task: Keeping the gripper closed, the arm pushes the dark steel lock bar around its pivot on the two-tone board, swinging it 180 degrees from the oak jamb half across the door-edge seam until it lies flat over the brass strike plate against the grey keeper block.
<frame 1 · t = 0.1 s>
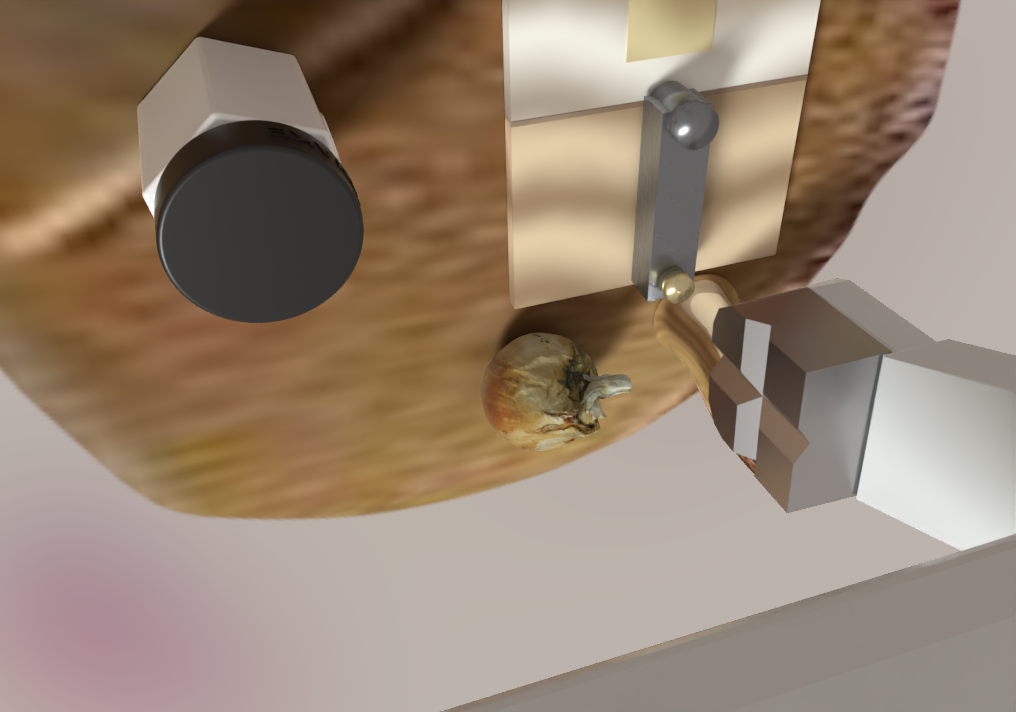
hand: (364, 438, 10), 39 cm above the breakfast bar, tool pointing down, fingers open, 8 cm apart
onion: (524, 358, 62), on the breakfast bar
lock bar: (674, 199, 54), point 3 cm above the breakfast bar, hinge at 0.0°
door board: (657, 93, 54), on the breakfast bar
beer glass: (692, 309, 65), on the breakfast bar
jar: (233, 120, 47), on the breakfast bar
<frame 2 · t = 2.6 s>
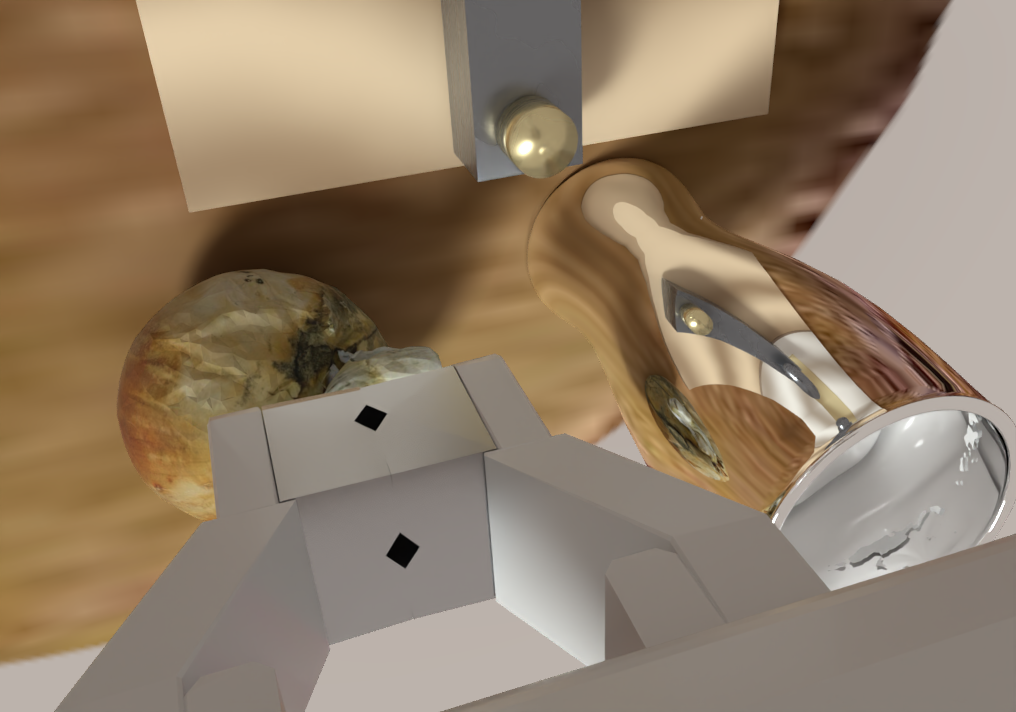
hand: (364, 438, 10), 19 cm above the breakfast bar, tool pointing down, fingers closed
onion: (256, 337, 30), on the breakfast bar
beer glass: (607, 240, 32), on the breakfast bar
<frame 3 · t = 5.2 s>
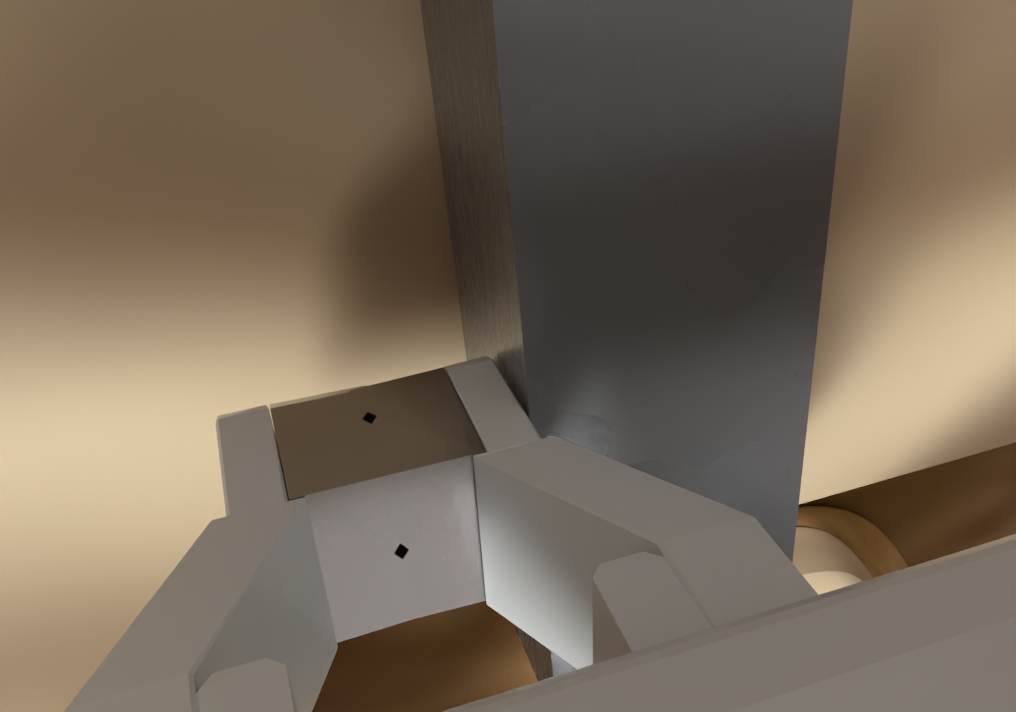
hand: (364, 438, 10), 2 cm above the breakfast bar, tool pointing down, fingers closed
lock bar: (647, 179, 9), point 3 cm above the breakfast bar, hinge at 1.7°, touching gripper
beer glass: (744, 623, 18), on the breakfast bar
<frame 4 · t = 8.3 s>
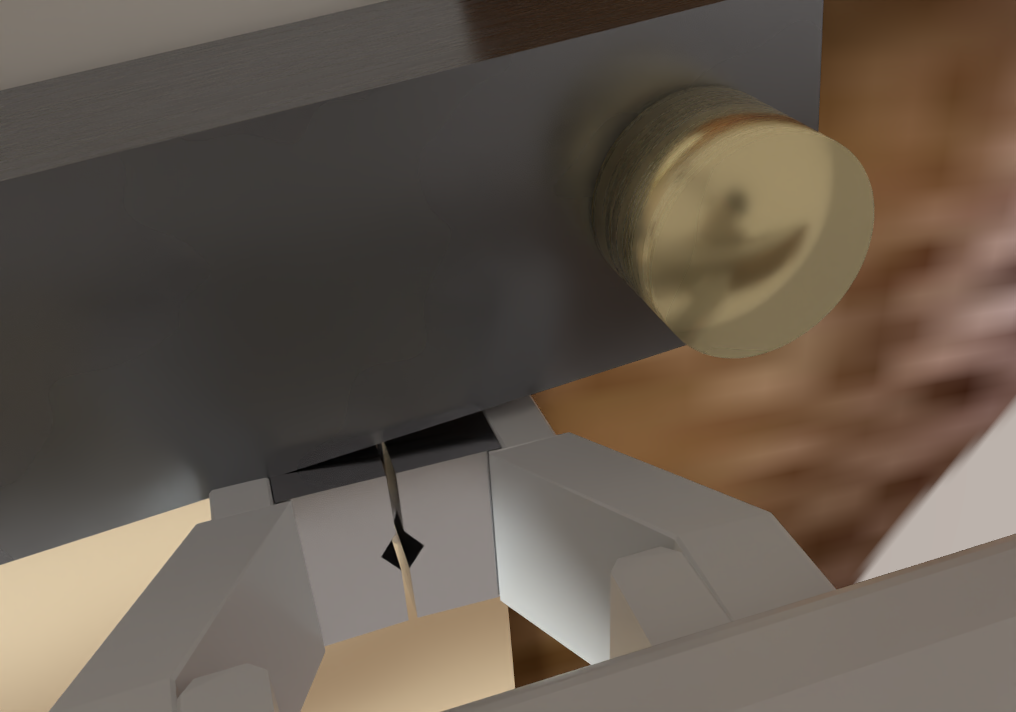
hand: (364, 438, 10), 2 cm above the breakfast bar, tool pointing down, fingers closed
lock bar: (72, 331, 8), point 3 cm above the breakfast bar, hinge at 95.2°, touching gripper
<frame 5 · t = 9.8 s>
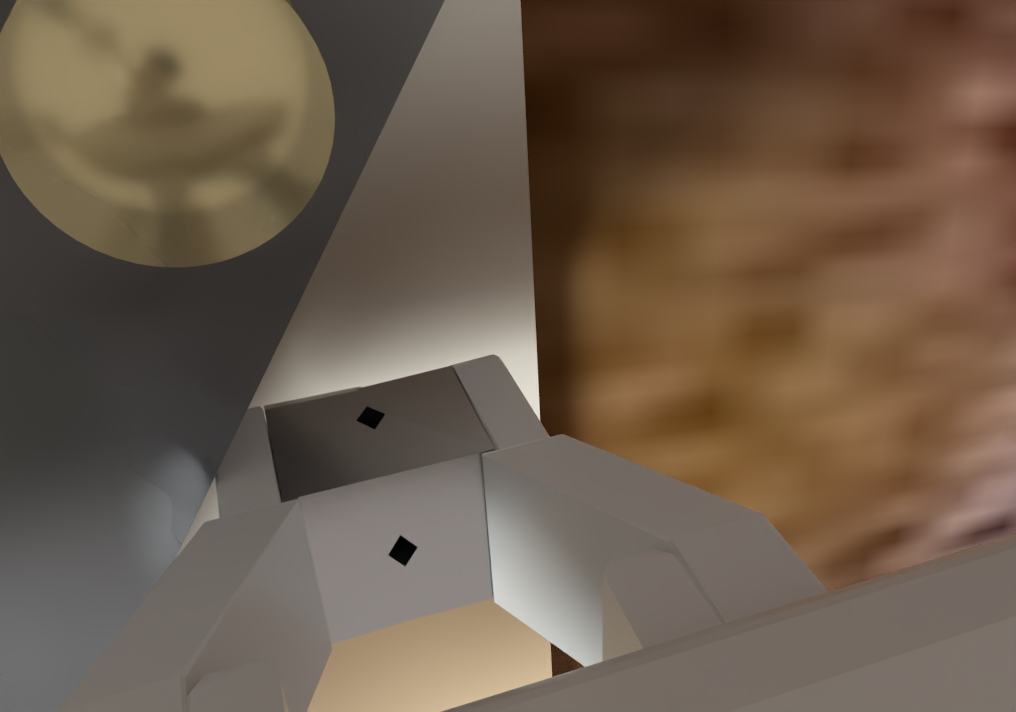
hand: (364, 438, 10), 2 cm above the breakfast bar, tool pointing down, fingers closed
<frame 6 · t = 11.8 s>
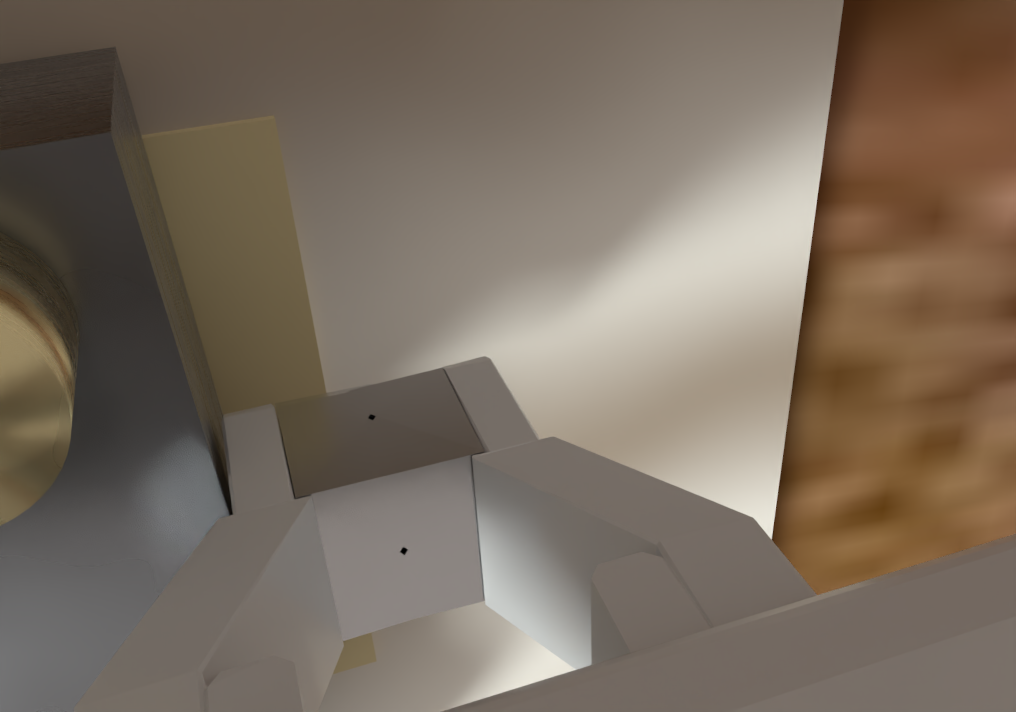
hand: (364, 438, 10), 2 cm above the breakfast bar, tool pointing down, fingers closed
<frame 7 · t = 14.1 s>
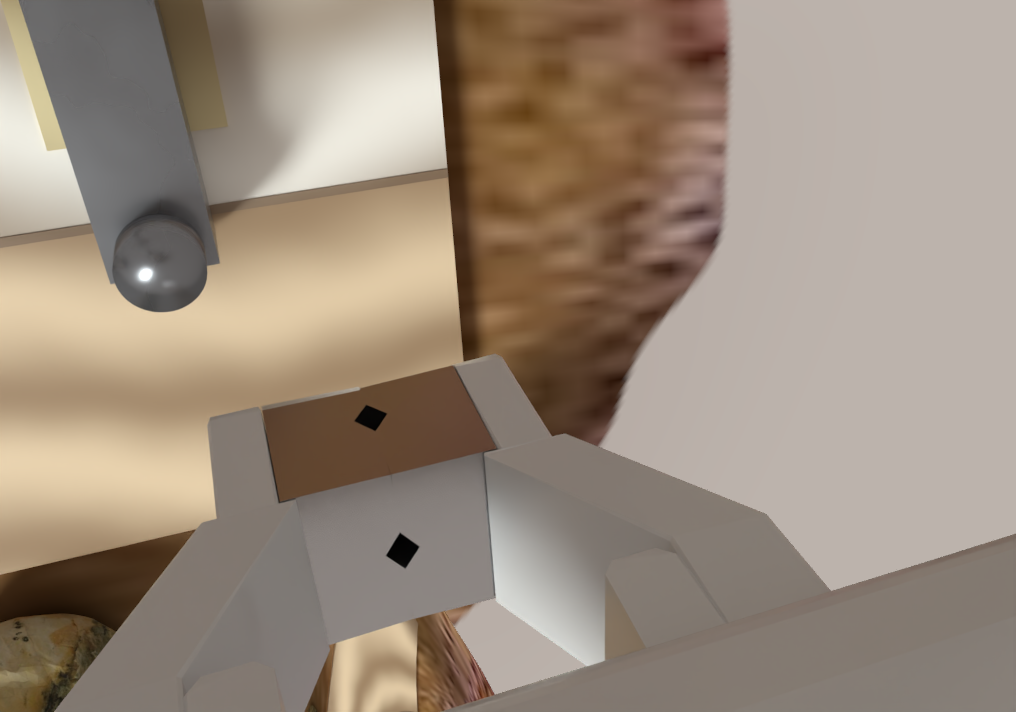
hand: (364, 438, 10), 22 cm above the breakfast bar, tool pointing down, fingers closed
onion: (49, 646, 37), on the breakfast bar
lock bar: (108, 64, 24), point 3 cm above the breakfast bar, hinge at 181.3°, touching door board
door board: (160, 205, 30), on the breakfast bar
beer glass: (353, 552, 39), on the breakfast bar
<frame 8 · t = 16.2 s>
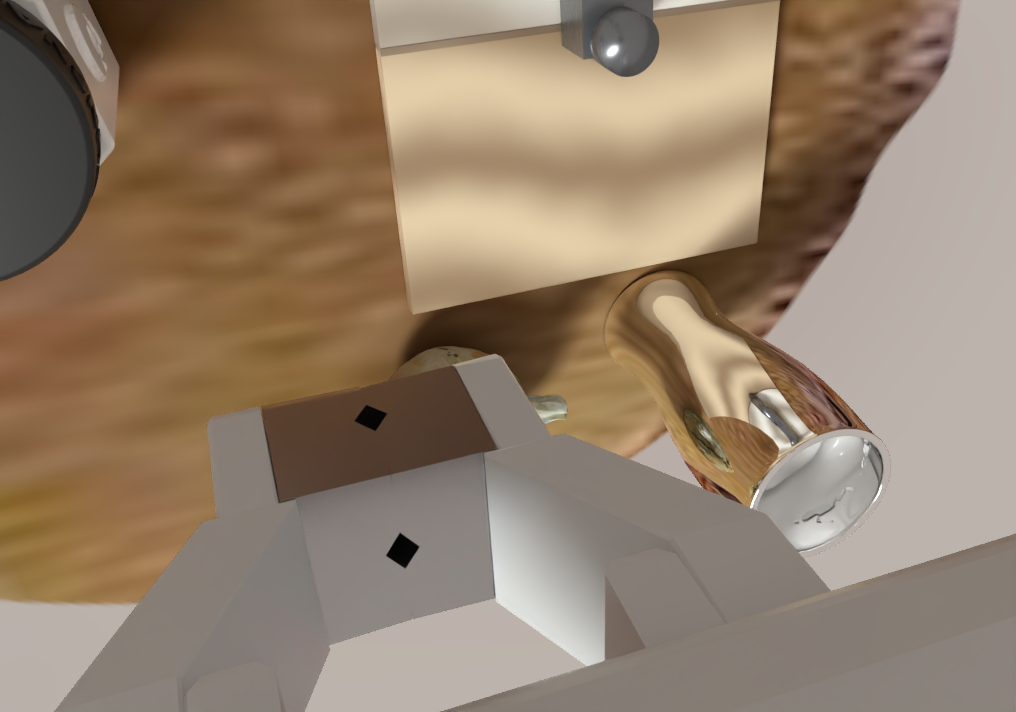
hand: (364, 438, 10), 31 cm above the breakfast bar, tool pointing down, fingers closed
onion: (437, 384, 48), on the breakfast bar
door board: (582, 18, 41), on the breakfast bar
beer glass: (654, 319, 51), on the breakfast bar
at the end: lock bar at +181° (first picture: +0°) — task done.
